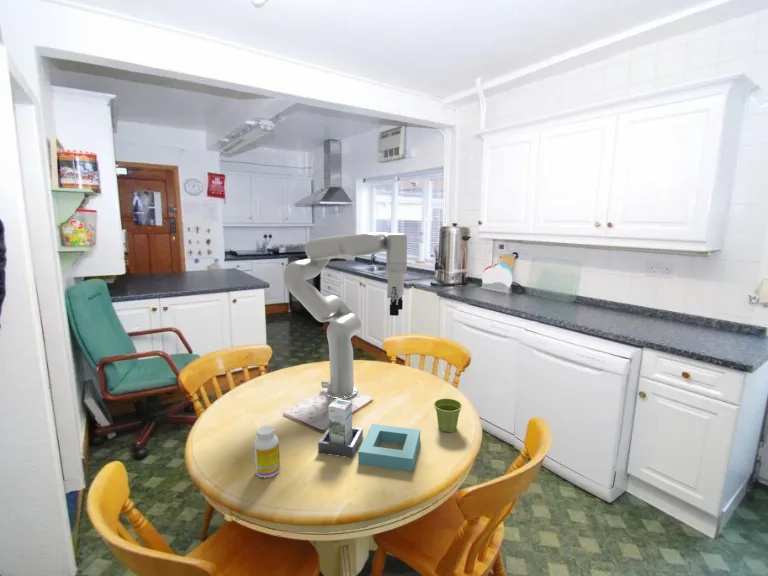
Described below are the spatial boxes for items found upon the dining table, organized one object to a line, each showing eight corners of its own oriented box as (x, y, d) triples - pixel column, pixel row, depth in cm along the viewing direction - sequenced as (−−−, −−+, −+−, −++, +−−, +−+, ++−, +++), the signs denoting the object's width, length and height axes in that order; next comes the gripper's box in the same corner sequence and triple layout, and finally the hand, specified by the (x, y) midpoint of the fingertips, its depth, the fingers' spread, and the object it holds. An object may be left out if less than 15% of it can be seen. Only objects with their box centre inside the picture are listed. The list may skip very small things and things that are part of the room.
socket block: (358, 464, 115) (358, 451, 114) (372, 435, 130) (372, 423, 130) (412, 471, 111) (412, 458, 111) (420, 441, 127) (420, 429, 126)
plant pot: (444, 438, 128) (444, 413, 127) (428, 425, 137) (428, 401, 135) (466, 431, 133) (467, 407, 131) (449, 418, 141) (450, 396, 139)
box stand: (318, 453, 120) (318, 442, 120) (331, 434, 131) (330, 424, 130) (352, 457, 118) (352, 447, 117) (362, 438, 128) (362, 428, 128)
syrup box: (353, 442, 126) (352, 400, 124) (345, 452, 121) (344, 408, 118) (337, 438, 128) (336, 397, 125) (328, 448, 123) (327, 405, 120)
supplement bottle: (283, 473, 111) (281, 431, 108) (259, 482, 107) (256, 439, 105) (276, 461, 116) (273, 421, 114) (253, 469, 113) (250, 428, 110)
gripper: (390, 264, 154) (390, 306, 157) (382, 269, 137) (382, 317, 140) (409, 264, 152) (409, 307, 155) (403, 270, 135) (402, 318, 138)
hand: (396, 312), depth 148 cm, fingers open, 9 cm apart
